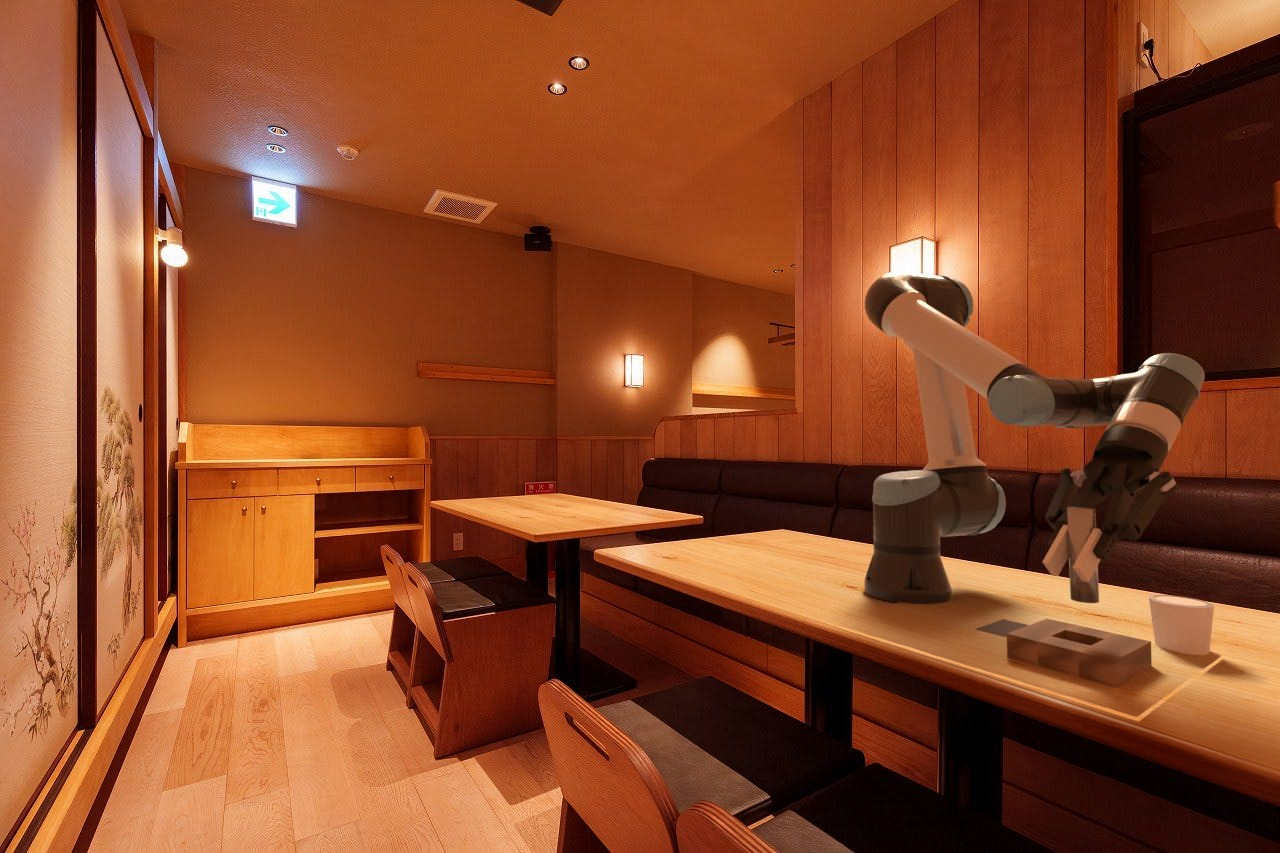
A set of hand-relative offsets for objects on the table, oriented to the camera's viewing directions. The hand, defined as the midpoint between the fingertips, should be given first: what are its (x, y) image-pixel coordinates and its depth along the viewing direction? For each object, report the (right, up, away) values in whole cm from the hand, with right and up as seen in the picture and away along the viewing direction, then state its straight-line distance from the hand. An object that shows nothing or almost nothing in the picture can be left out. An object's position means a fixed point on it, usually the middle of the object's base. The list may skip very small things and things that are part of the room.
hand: (1065, 571), depth 77 cm
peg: (+4, -4, +1) cm, 6 cm away
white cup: (+21, -13, +7) cm, 26 cm away
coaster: (+3, -13, +14) cm, 20 cm away
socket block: (+3, -13, +2) cm, 13 cm away
